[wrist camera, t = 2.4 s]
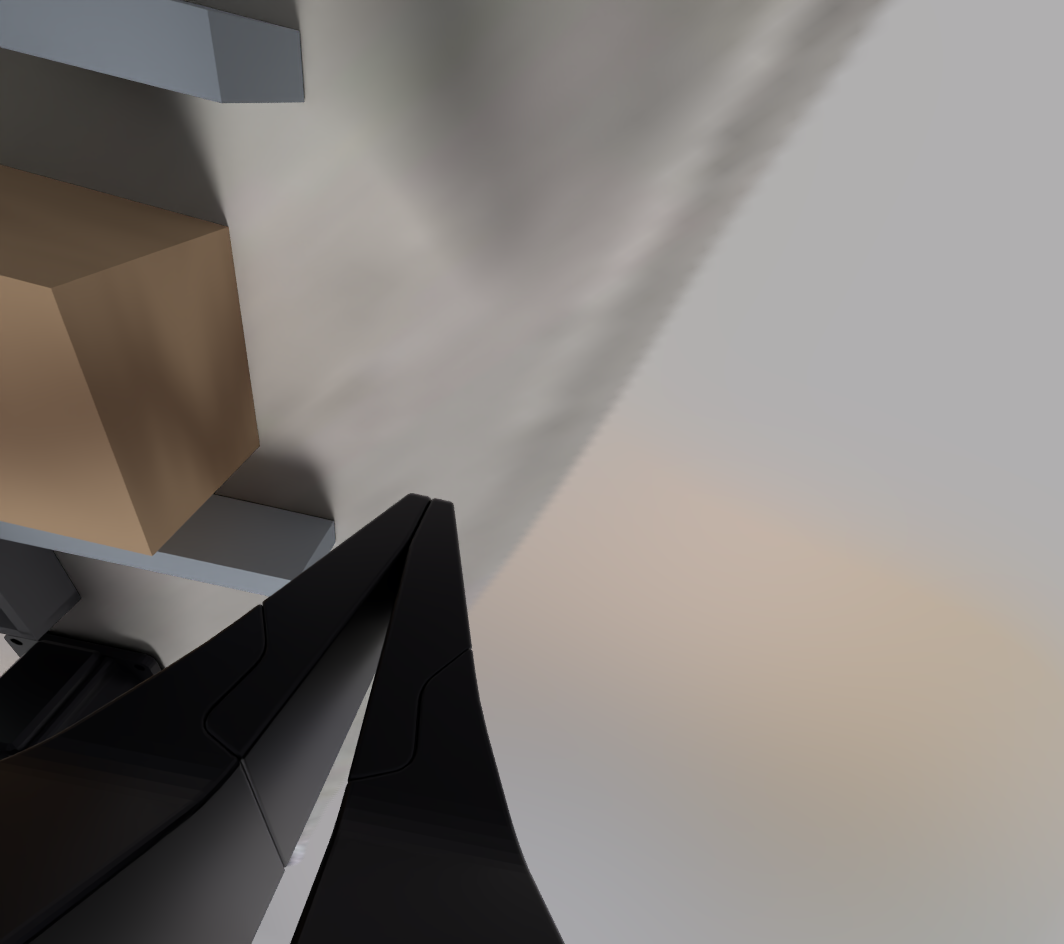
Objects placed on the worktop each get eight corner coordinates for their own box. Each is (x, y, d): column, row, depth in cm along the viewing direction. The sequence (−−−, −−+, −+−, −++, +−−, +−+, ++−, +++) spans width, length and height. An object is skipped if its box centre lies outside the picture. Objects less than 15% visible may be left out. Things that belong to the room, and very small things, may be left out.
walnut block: (262, 443, 14) (152, 555, 11) (54, 390, 14) (-132, 490, 10) (232, 225, 11) (51, 288, 7) (-52, 147, 10) (-391, 173, 7)
